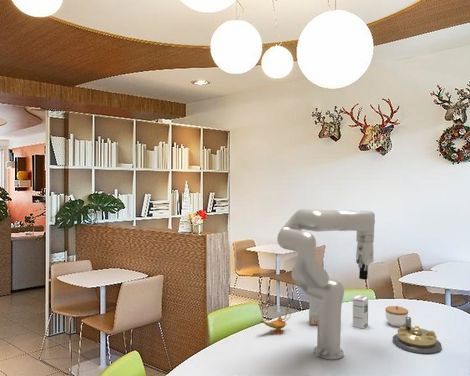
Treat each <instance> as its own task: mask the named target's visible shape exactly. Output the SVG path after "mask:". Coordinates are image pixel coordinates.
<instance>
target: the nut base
mask: <svg viewBox="0 0 470 376" xmlns="http://www.w3.org/2000/svg"><path fill="white" fill-rule="evenodd" d="M397 335H398V333H396V334H393V336H392V343H394V344H395V345H396V346H395V345H394V344H393V345H394V346H395V347H396V348H398V347H399V348H398V349H400V348H401V349H400V350H403V351H405V352H408V353H413V354H419V355H433V354H438V353H440V351H442V343H441V342H440V341H439V340H438V339H436V346H434V347H431V348H417V347H412V346H408V345H406V344H403V343H401V342H400V341H399V340H398V339H397Z"/></svg>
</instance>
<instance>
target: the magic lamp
mask: <svg viewBox="0 0 470 376" xmlns="http://www.w3.org/2000/svg"><path fill="white" fill-rule="evenodd" d="M285 310H286V311H287V313H285V316H284V318H282V316H281V315H279V316H278V318H277V319H275V320H272V321H270V322H266V321H263V320H260V321H259V322H260V323H262V324H264V325H266V326H267V327H269V328H272V329H273V330H272V332H273V333H274V334H277V335H278V334H279V335H280V334H281V335H282V334H283V333H284V330H282V329H284V328H285V327H286V326H287V325H288V324H287V323H286V322H287V321H288V320H289V319H290V318H291V315H292V314H291V312H290V311H289V310H290V306H288V307H286V309H285ZM288 313H289V316H288V317H287V315H288Z"/></svg>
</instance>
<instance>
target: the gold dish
mask: <svg viewBox="0 0 470 376" xmlns="http://www.w3.org/2000/svg"><path fill="white" fill-rule="evenodd" d="M404 325H405V326H401V327H398V330H397V334H398V335H397V339H398V340H399V341H400V342H401V343H403V344H406V345H408V346H412V347H417V348H431V347H434V346H436V340H438V339H437V335H436V333H435V331H434V330H428V329H424V328H421V327H420V326H419V325H414V327H412V318H411V317H410V316H408V317H406V322H405V324H404Z"/></svg>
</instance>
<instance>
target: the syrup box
mask: <svg viewBox="0 0 470 376" xmlns="http://www.w3.org/2000/svg"><path fill="white" fill-rule="evenodd" d="M368 322H369V297H368V296H364V295H356V296H355V297H353V298H352V327H354V328H356V329H357V328H359V329H362V330H364V329H365V328H367V327H368V326H369V323H368Z"/></svg>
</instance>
